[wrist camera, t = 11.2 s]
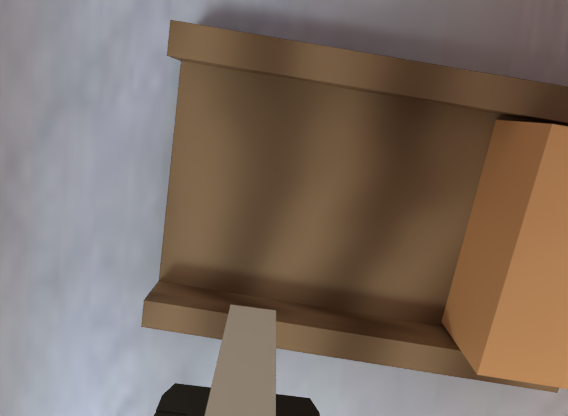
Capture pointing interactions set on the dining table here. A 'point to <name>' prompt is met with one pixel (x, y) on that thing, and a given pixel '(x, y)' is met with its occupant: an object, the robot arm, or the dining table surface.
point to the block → (516, 260)
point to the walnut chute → (327, 193)
